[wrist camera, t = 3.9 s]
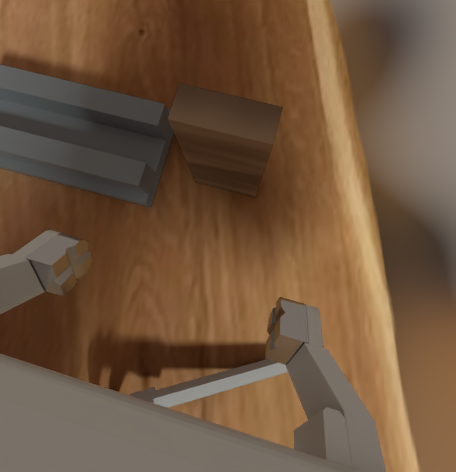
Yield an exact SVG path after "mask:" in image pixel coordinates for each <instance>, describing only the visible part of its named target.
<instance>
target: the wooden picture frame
mask: <svg viewBox="0 0 456 472" xmlns="http://www.w3.org/2000/svg"><path fill="white" fill-rule="evenodd" d="M282 108H283V107H279V106H275V105H271V104H267V103H262V102H258V101H254V100H249V99H245V98H241V97H237V96H232V95H228V94H224V93H220V92H215V91H211V90H207V89H202V88H198V87H194V86H190V85H185V84H181V83H179V85H178V88H177V91H176V94H175V98H174V101H173V104H172V107H171V110H170V113H169V117H168V121H169V123H170V125H171V128H172V130H173V132H174V134H175V137H176V139H177V141H178V143H179V145H180V148H181V150H182V152H183V154H184V157H185V159H186V161H187V163H188V166H189V168H190V170H191V172H192V174H193V177H194V179H195V181H196V182H197V183H201V184H205V185H209V186H213V187H216V188H220V189H224V190H228V191H232V192H236V193H240V194H244V195H248V196H252V197H255V196H256V193H257V190H258V188H259V185H260V182H261V179H262V176H263V173H264V170H265V167H266V164H267V161H268V158H269V155H270V152H271V149H272V146H273V143H274V139H275V135H276V131H277V128H278V124H279V120H280V116H281V112H282Z"/></svg>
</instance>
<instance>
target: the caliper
mask: <svg viewBox="0 0 456 472" xmlns="http://www.w3.org/2000/svg"><path fill="white" fill-rule="evenodd" d="M286 372H288V370H287V368H286V365H284V364H281V363H278V362H275V361H272V360H269V359H265V360H262V361H258V362H255V363H251V364H248V365H244V366H241V367H237V368H234V369H230V370H227V371H223V372H220V373H216V374H213V375H209V376H205V377H202V378H198V379H195V380H191V381H188V382H184V383H180V384H177V385H173V386H170V387H166V388H163V389H159V390H155V387H152V388H149V389H147V390H144V391H138V392H135V393H133V394H130V395H129V396H133V397H136V398H139V399H142V400H145V401H148V402H151V403H154V404H157V405H160V406H163V407H166V408H168V407H172V406H175V405H178V404H182V403H185V402H188V401H192V400H195V399H199V398H202V397H205V396H209V395H212V394H215V393H219V392H222V391H226V390H229V389H232V388H236V387H239V386H242V385H246V384H249V383H252V382H256V381H259V380H262V379H266V378H269V377H273V376H276V375H279V374H283V373H286ZM112 390H114V389H112Z"/></svg>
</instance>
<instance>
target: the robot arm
mask: <svg viewBox="0 0 456 472" xmlns="http://www.w3.org/2000/svg"><path fill="white" fill-rule="evenodd" d="M88 248H89V245H88V242H87V241H85V240H82V239H79V238H76V237H73V236H70V235H67V234H64V233H60V232H57V231H54V230H47V231H45V232H43V233H42V234H40V235H39V236H38V237H36V238H35V239H33V240H32V241H31V242H29V243H28V244H26V245H25V246H24V247H22V248H21V249H19V250H18V251H16V252H15V253H14V254H5V255H2V256H0V314H2V313H4V312H6V311H8V310H10V309H12V308H14V307H16V306H18V305H20V304H22V303H24V302H26V301H28V300H30V299H32V298H34V297H36V296H38V295H40V294H42V293H44V291H47V292H50V293H54V294H57V295H61V296H65V295H66V294H67V293H68V292H69V291H70V290H71V289H72V288H73V287H74V286H75V285H76V281H77V278H80V277H82V276H84V275H85V274H86V273H87V272H88V271H89V269H90V267H91V264H92V257H91V254H90V253H89V252H88V251H87V249H88ZM267 332H268V333H269V335H270V336H269V338H268V339H267V341H266V351H265V358H266V359H269V360H272V361H275V362H278V363H281V364H284V365H286V368H287V370H288V373H289V375H290V377H291V380H292V382H293V385H294V387H295V389H296V392H297V394H298V397H299V399H300V402H301V404H302V406H303V409H304V411H305V414H306V416H307V418H308V421H306V422H305V423H303V424H302V425H301V426H299V427H298V428H296V429H295V430H294V449H292V448H289V447H286V446H283V445H280V444H277V443H274V442H271V441H268V440H265V439H262V438H259V437H255V436H252V435H249V434H246V433H243V432H240V431H237V430H234V429H231V428H228V427H225V426H222V425H219V424H216V423H212V422H209V421H206V420H203V419H200V418H197V417H194V416H191V415H188V414H185V413H182V412H179V411H176V410H172V409H169V408H166V407H163V406H160V405H157V404H154V403H151V402H148V401H145V400H142V399H139V398H136V397H133V396H129V395H126V394H123V393H120V392H117V391H114V390H111V389H108V388H105V387H102V386H99V385H96V384H93V383H90V382H86V381H83V380H80V379H77V378H74V377H71V376H68V375H65V374H62V373H59V372H56V371H53V370H50V369H47V368H43V367H40V366H37V365H34V364H31V363H28V362H25V361H22V360H19V359H16V358H13V357H10V356H7V355H4V354H0V472H386V470H385V465H384V461H383V456H382V452H381V448H380V443H379V439H378V434H377V430H376V425H375V421H374V420H373V418H372V416H371V415H370V413H369V412H368V410H367V409H366V407H365V406H364V404H363V403H362V401H361V400H360V398H359V397H358V395H357V394H356V392H355V391H354V389H353V388H352V386H351V384H350V383H349V381H348V380H347V378H346V377H345V375H344V374H343V372H342V371H341V369H340V368H339V366H338V365H337V363H336V362H335V360H334V359H333V357H332V356H331V354H330V352H329V351H328V350H327V349H324V346H323V338H322V329H321V320H320V311H319V309H318V308H317V307H313V306H310V305H306V304H304V303H300V302H296V301H293V300H289V299H286V298H282V297H280V298H278V300H277V302H276V308H273V310H272V312H271V314H270V317H269V321H268V328H267Z"/></svg>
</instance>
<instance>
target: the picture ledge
mask: <svg viewBox="0 0 456 472" xmlns="http://www.w3.org/2000/svg"><path fill="white" fill-rule="evenodd" d="M169 113H170V110H167V108H166V105H165V104H163V103H159V102H155V101H151V100H147V99H142V98H138V97H134V96H130V95H126V94H121V93H117V92H113V91H109V90H105V89H101V88H96V87H92V86H88V85H84V84H80V83H75V82H71V81H67V80H63V79H59V78H55V77H50V76H46V75H42V74H38V73H34V72H29V71H25V70H21V69H17V68H13V67H9V66H4V65H0V168H2V169H6V170H10V171H14V172H17V173H21V174H25V175H29V176H33V177H37V178H40V179H44V180H48V181H52V182H56V183H59V184H63V185H67V186H71V187H75V188H79V189H82V190H86V191H90V192H94V193H98V194H101V195H105V196H109V197H113V198H117V199H120V200H124V201H128V202H132V203H136V204H140V205H143V206H147V207H151V206H152V202H153V199H154V196H155V193H156V190H157V186H158V183H159V180H160V177H161V173H162V170H163V167H164V164H165V160H166V157H167V154H168V151H169V147H170V144H171V141H172V138H173V135H174V132H173V130H172V128H171V125H170V123H169V121H168V117H169Z"/></svg>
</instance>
